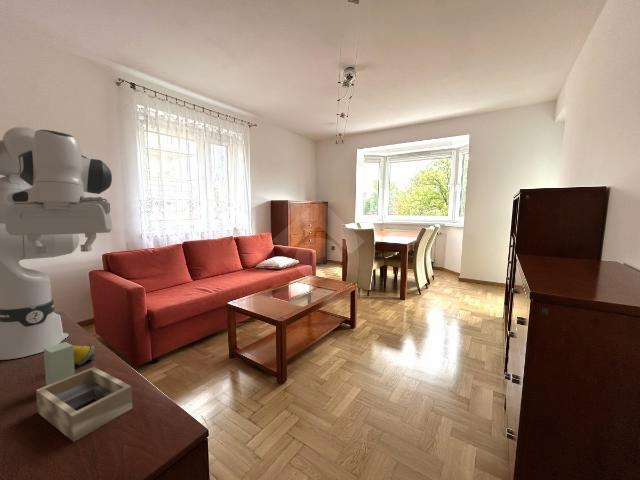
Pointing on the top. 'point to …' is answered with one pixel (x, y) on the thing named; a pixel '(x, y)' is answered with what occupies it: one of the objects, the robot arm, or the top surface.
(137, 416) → the top surface
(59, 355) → the peg
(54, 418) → the box
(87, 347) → the drill bit
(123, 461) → the top surface
